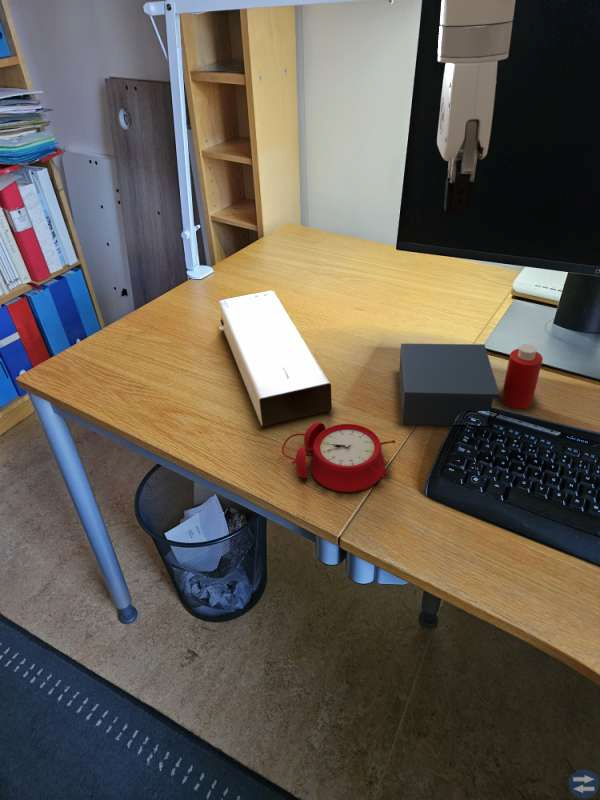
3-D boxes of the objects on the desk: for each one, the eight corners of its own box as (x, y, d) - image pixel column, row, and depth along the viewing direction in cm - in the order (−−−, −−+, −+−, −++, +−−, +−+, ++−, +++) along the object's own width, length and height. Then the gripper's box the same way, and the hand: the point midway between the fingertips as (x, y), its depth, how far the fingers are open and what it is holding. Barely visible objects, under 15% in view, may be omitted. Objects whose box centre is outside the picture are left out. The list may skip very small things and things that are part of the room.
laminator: (332, 415, 88) (331, 383, 84) (256, 433, 85) (252, 401, 82) (276, 317, 114) (273, 289, 110) (216, 328, 112) (212, 300, 108)
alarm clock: (386, 482, 71) (276, 443, 73) (374, 512, 75) (269, 474, 77) (400, 430, 78) (300, 396, 80) (388, 460, 83) (293, 427, 84)
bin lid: (483, 348, 91) (484, 344, 91) (498, 398, 80) (499, 394, 80) (400, 347, 93) (401, 343, 92) (404, 396, 82) (404, 392, 81)
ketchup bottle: (528, 391, 90) (540, 340, 84) (534, 409, 86) (548, 357, 81) (498, 391, 91) (509, 340, 85) (504, 408, 87) (515, 356, 81)
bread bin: (474, 375, 94) (478, 348, 91) (487, 426, 84) (493, 398, 81) (398, 373, 96) (400, 347, 93) (402, 424, 85) (404, 396, 82)
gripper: (432, 39, 67) (423, 194, 78) (446, 53, 55) (432, 234, 66) (497, 35, 66) (478, 192, 77) (524, 48, 54) (497, 231, 66)
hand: (457, 211), depth 72 cm, fingers closed
